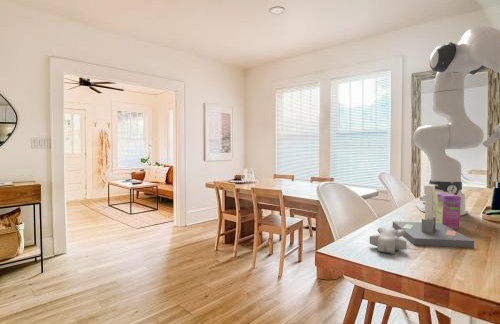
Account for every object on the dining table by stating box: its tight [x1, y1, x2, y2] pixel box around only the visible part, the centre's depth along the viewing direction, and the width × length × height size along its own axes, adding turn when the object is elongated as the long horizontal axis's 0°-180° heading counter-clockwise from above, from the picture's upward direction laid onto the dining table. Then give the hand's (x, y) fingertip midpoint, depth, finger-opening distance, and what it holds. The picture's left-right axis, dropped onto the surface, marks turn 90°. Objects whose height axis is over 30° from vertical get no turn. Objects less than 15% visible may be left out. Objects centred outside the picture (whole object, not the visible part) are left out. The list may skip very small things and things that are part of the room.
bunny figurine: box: [369, 226, 407, 255], centre depth 84 cm, size 10×5×15 cm
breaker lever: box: [423, 183, 435, 227], centre depth 94 cm, size 3×4×14 cm
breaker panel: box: [392, 216, 475, 249], centre depth 94 cm, size 20×16×6 cm
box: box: [433, 191, 461, 230], centre depth 108 cm, size 10×6×12 cm, turn 168°
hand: (484, 145), depth 85 cm, fingers closed
